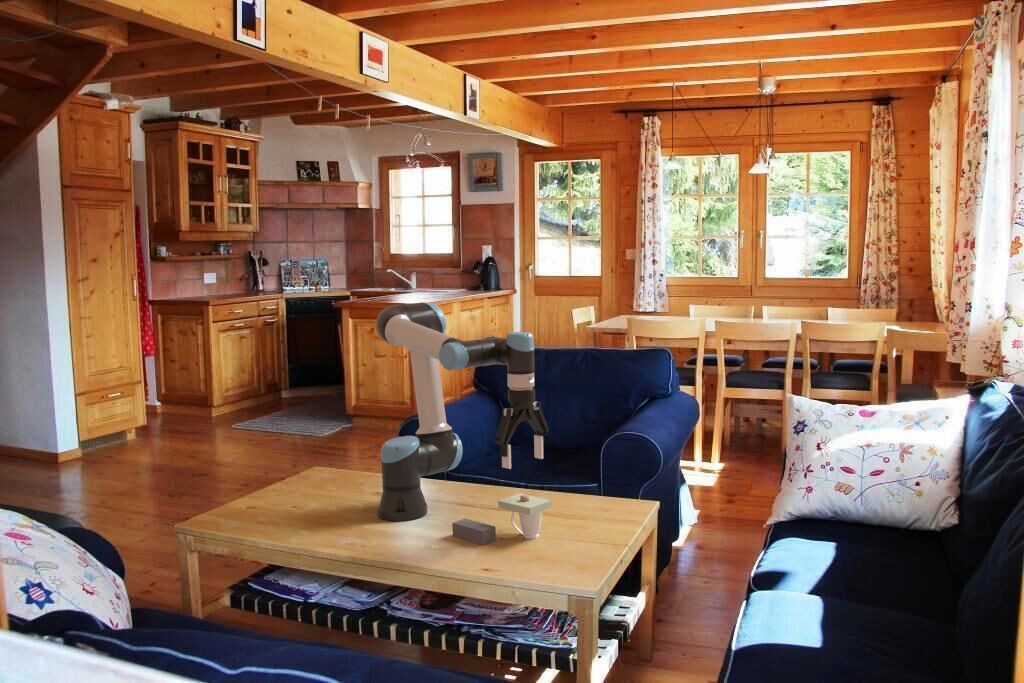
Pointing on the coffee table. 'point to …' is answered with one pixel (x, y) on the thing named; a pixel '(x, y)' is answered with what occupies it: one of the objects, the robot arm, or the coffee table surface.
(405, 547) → the coffee table surface
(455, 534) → the block
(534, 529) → the cup
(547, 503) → the lid
